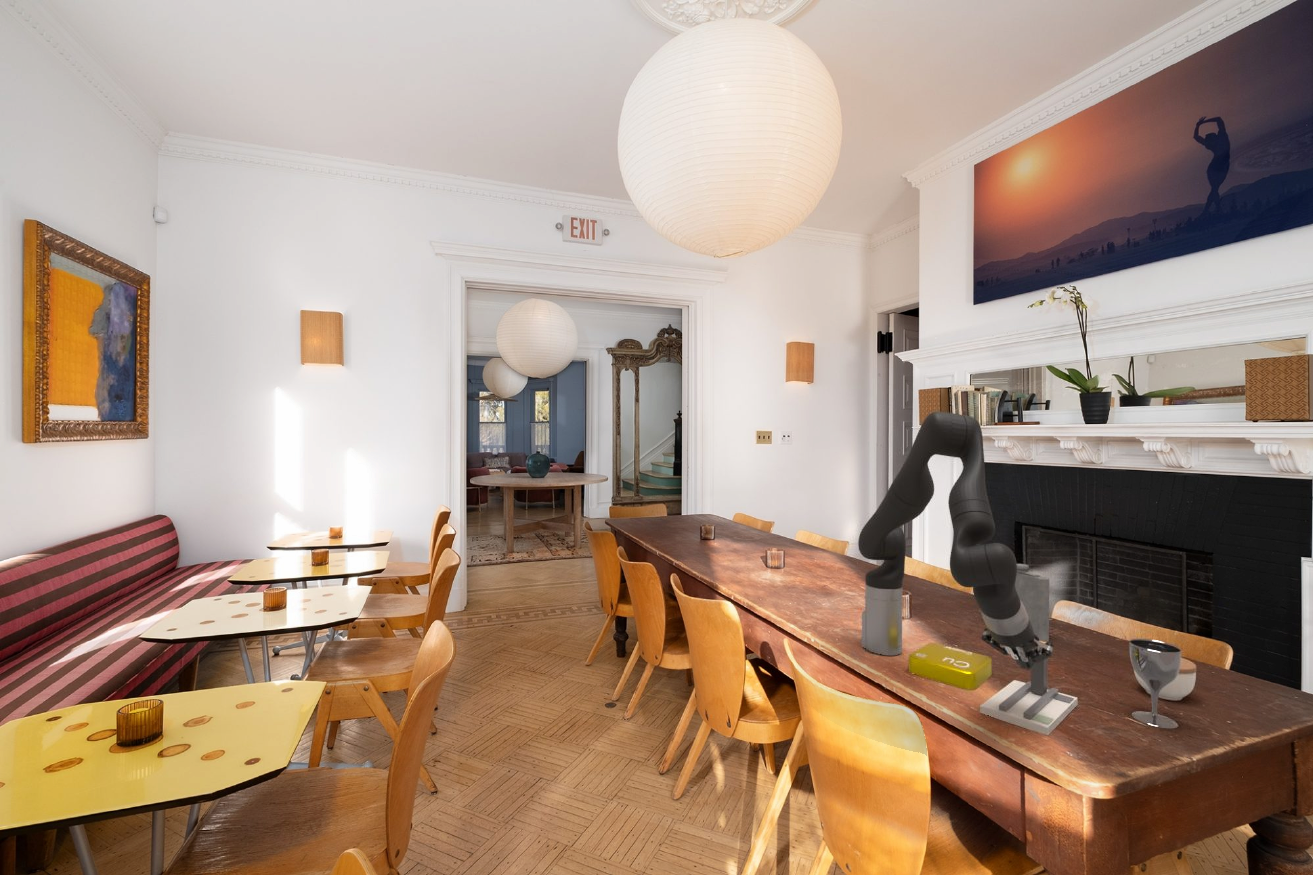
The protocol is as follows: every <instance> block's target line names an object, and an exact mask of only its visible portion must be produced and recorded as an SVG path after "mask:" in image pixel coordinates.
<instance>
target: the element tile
mask: <svg viewBox="0 0 1313 875" xmlns="http://www.w3.org/2000/svg"><path fill="white" fill-rule="evenodd" d="M992 660H993V659H992V658H991V657H990V656H988V655H985V654H981V653H975V652H972V651H968V650H963V649H960V648H957V647H956V648H955V647H953V646H948V645H944V644H939V643H935V642H930V643H926V644H925V645H924V646H922V647H920V648H919V649H917V650H915V651H914V652H912V653H910V654H909V655H908V672H909V671H910V672H909V674H912V673H914V674H916V675H915V676H917V675H920V676H919V677H921V676H922V678H924V677H927V678H926V679H928V678H929V679H928V680H931V679H933V680H932V681H934V682H938V681H940V682H939V683H941V682H942V683H941V684H945V683H946V684H945V685H949V686H952V687H955V688H960V689H963V690H967V691H973V690H977V689H978V688H979V687H980V686H982V684H983V683H985V682H986V681H987V680H989V678H990V677H992V669H993V667H992V665H993V664H992V662H993V661H992ZM914 674H913V675H914Z"/></svg>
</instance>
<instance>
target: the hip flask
mask: <svg viewBox="0 0 1313 875" xmlns="http://www.w3.org/2000/svg"><path fill="white" fill-rule="evenodd" d="M1029 567H1030V566H1029V564H1025V563H1024V564H1023V563H1017V576H1016V582H1015V588H1016V591H1017V594H1018V596H1019V599H1020V600H1021V602H1022V603H1023V605H1024V607H1025V609H1026V612H1027V614H1028V617H1029V619H1030V622H1031V624H1032V627H1033V630H1034V634H1035V635H1036V636H1038V638H1039V641H1043V642H1050V578H1048V577H1046V576H1041V575H1040V574H1036V573H1034V572H1031V571H1030V572H1029V570H1028V569H1030V568H1029Z"/></svg>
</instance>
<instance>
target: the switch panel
mask: <svg viewBox="0 0 1313 875" xmlns="http://www.w3.org/2000/svg"><path fill="white" fill-rule="evenodd" d="M1078 700H1079V699H1078V697H1076V696H1073V695H1069V694H1066V693H1063V692H1062V693H1061V692H1059V689H1058V688H1054V687H1050V689H1048V688H1047V692H1046V693H1045V694H1044V695H1040V694H1036V693H1033V692H1031V680H1029V681H1027V682H1023V681H1020V680H1015V679H1013V680H1012V681H1011V682H1010V683H1008V684H1007V685H1006V686H1005V687H1003V688H1002V689H1001V690H998V692H996V693H995V694H994V695H993V696H991V697H990V698H988V699H987V700H986V701H984V702H983V703H982V704H980V705H979V713H980V714H981V713H984V714H985V715H984V714H983V715H984V716H987V715H989V716H988V717H990V716H991V718H993V717H994V719H996V720H1000V721H1003V722H1005V723H1008V724H1012V725H1013V726H1017V727H1020V728H1023V729H1027V730H1029V731H1032V732H1036V733H1039V734H1041V735H1044V736H1049V735H1050V734H1051V733H1052V732H1053V731H1054V730H1055V729H1056V728H1057V727H1058V726H1059V725H1060V724H1061V723H1062V722H1063V721H1064V720H1065V719H1066V717H1067V716H1069V714H1071V712H1072V711H1073V710H1074V709H1075V708H1076V707H1077V706H1078Z"/></svg>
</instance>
